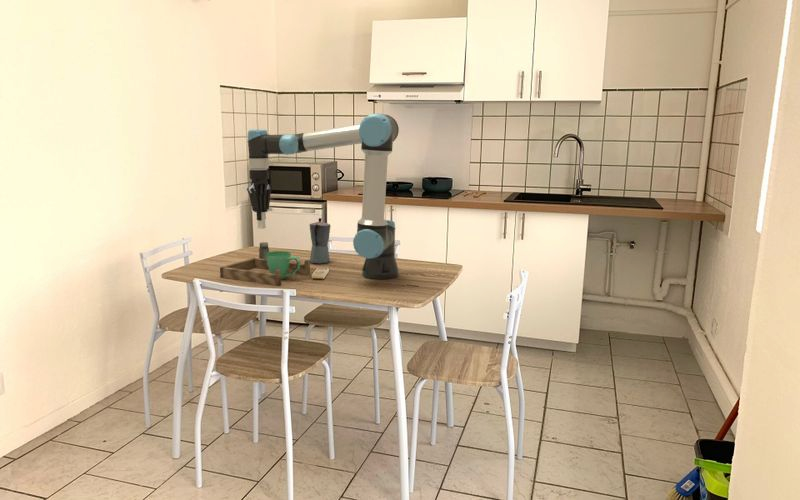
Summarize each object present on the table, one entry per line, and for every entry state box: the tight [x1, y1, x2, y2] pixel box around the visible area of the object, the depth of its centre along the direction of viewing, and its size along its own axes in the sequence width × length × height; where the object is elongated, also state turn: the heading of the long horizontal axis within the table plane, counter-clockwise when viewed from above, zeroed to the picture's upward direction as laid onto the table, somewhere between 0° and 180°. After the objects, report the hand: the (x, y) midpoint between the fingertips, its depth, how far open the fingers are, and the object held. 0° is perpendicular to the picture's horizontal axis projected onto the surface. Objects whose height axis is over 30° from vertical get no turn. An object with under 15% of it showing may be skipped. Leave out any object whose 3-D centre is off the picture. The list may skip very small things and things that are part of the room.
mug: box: [266, 250, 302, 280], centre depth 237 cm, size 15×10×10 cm
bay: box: [219, 241, 311, 287], centre depth 243 cm, size 29×25×10 cm
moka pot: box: [309, 217, 331, 264], centre depth 265 cm, size 10×15×20 cm, turn 179°
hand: (261, 228), depth 239 cm, fingers closed
